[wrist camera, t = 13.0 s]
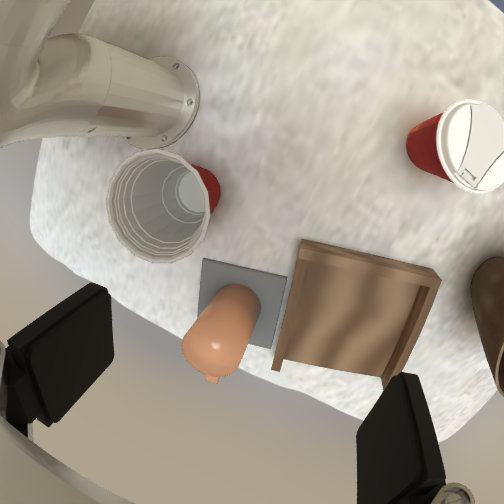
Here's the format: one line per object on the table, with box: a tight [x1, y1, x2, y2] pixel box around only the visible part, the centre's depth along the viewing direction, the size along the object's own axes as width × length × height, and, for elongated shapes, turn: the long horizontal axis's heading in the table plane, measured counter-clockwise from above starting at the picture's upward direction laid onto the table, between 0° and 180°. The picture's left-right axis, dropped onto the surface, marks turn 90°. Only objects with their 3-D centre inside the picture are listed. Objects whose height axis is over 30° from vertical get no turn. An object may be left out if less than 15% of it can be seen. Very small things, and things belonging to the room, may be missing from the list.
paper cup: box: [406, 100, 504, 194], centre depth 23 cm, size 8×8×14 cm
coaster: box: [197, 258, 287, 349], centre depth 41 cm, size 11×11×1 cm
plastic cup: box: [106, 149, 220, 263], centre depth 32 cm, size 11×11×12 cm
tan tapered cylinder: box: [182, 284, 261, 384], centre depth 36 cm, size 9×6×11 cm
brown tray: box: [271, 239, 442, 390], centre depth 36 cm, size 17×17×4 cm
